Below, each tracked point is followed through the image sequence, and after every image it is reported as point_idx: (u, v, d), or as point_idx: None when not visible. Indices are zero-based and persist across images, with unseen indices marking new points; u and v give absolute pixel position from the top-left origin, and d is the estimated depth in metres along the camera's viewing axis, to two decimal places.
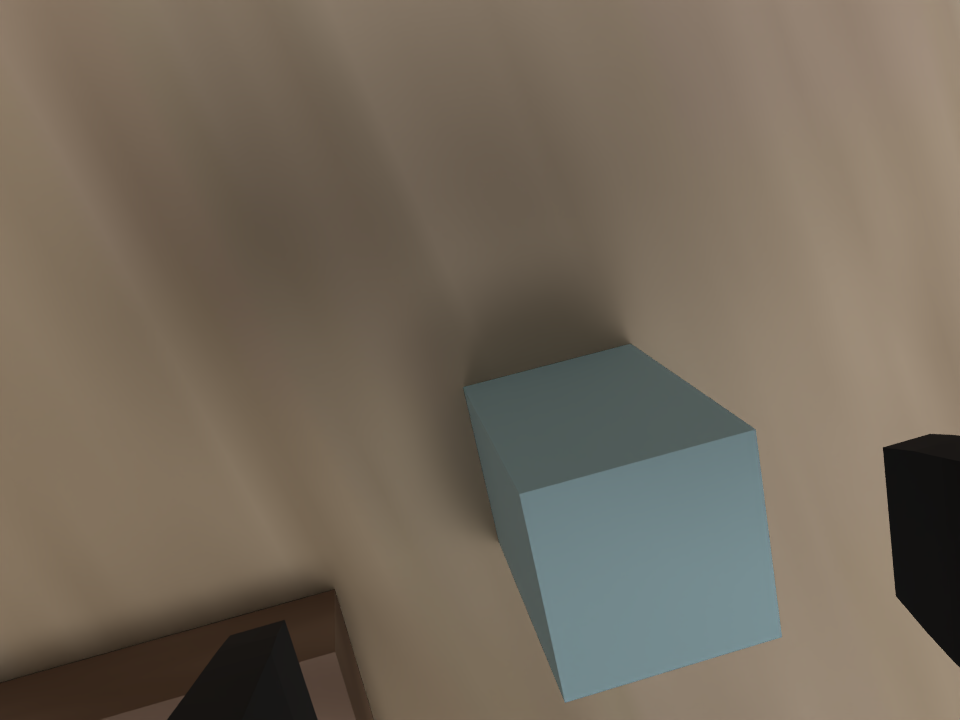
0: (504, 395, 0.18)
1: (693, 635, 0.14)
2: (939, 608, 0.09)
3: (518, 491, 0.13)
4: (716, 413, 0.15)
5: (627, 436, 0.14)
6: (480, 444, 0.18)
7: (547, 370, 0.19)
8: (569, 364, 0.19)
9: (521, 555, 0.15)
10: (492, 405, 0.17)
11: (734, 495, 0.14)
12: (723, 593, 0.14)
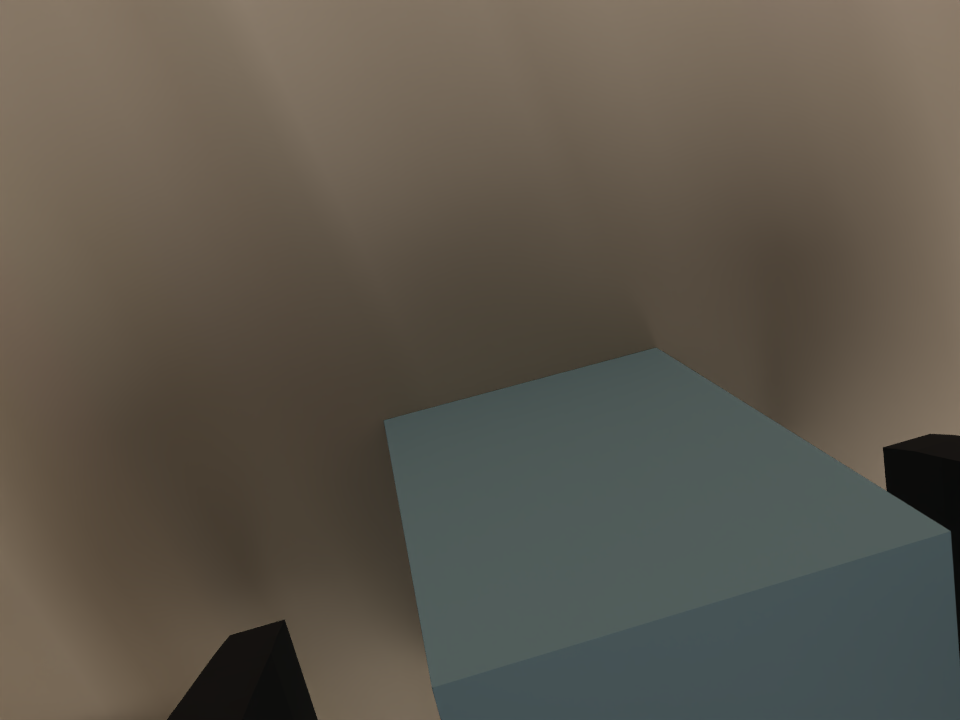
0: (445, 437, 0.10)
1: None
2: None
3: (431, 678, 0.06)
4: (846, 487, 0.07)
5: (666, 535, 0.07)
6: None
7: (521, 393, 0.11)
8: (557, 381, 0.12)
9: None
10: (421, 456, 0.10)
11: (899, 669, 0.07)
12: None
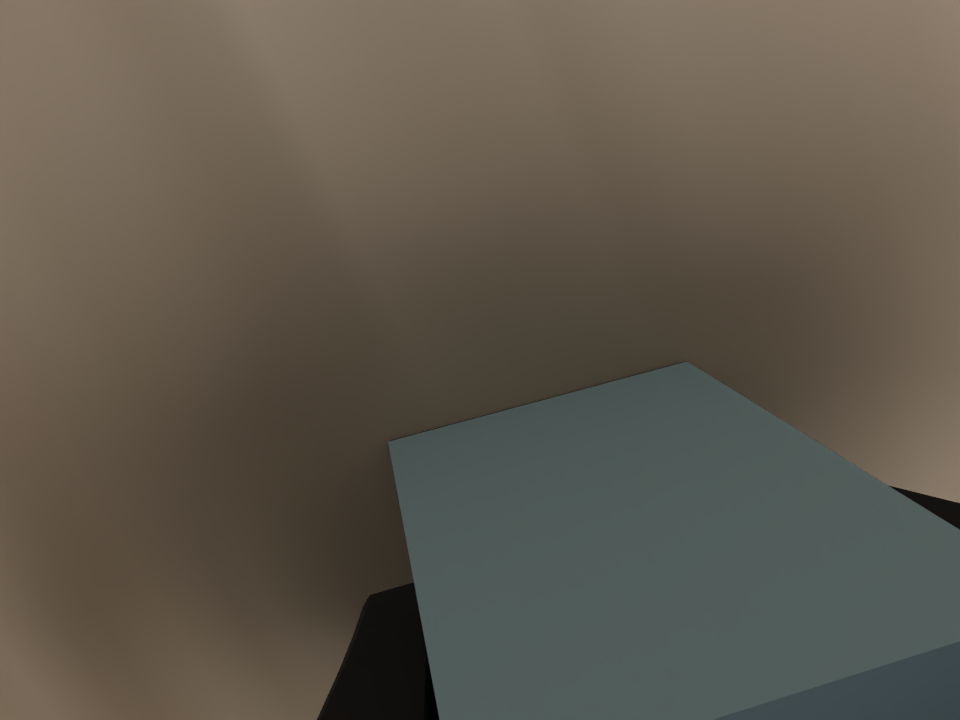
0: (457, 465, 0.09)
1: None
2: None
3: None
4: (936, 539, 0.06)
5: (725, 598, 0.06)
6: None
7: (540, 412, 0.10)
8: (580, 400, 0.10)
9: None
10: (432, 487, 0.09)
11: None
12: None
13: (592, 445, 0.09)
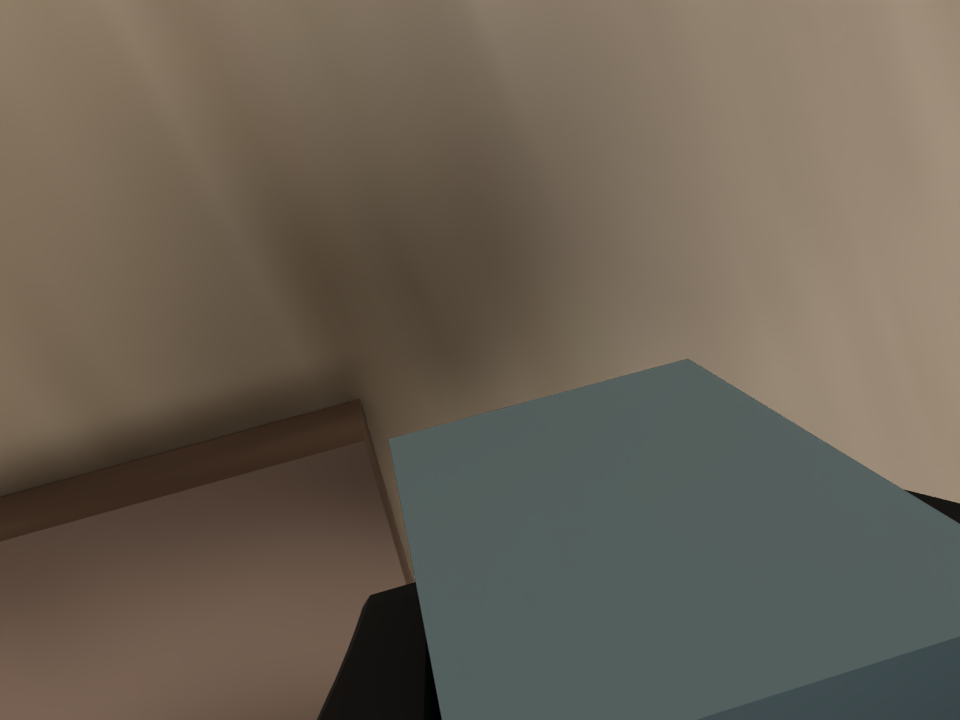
0: (458, 461, 0.09)
1: None
2: None
3: None
4: (938, 535, 0.06)
5: (728, 594, 0.06)
6: None
7: (541, 409, 0.10)
8: (581, 396, 0.10)
9: None
10: (432, 483, 0.09)
11: None
12: None
13: (593, 442, 0.09)
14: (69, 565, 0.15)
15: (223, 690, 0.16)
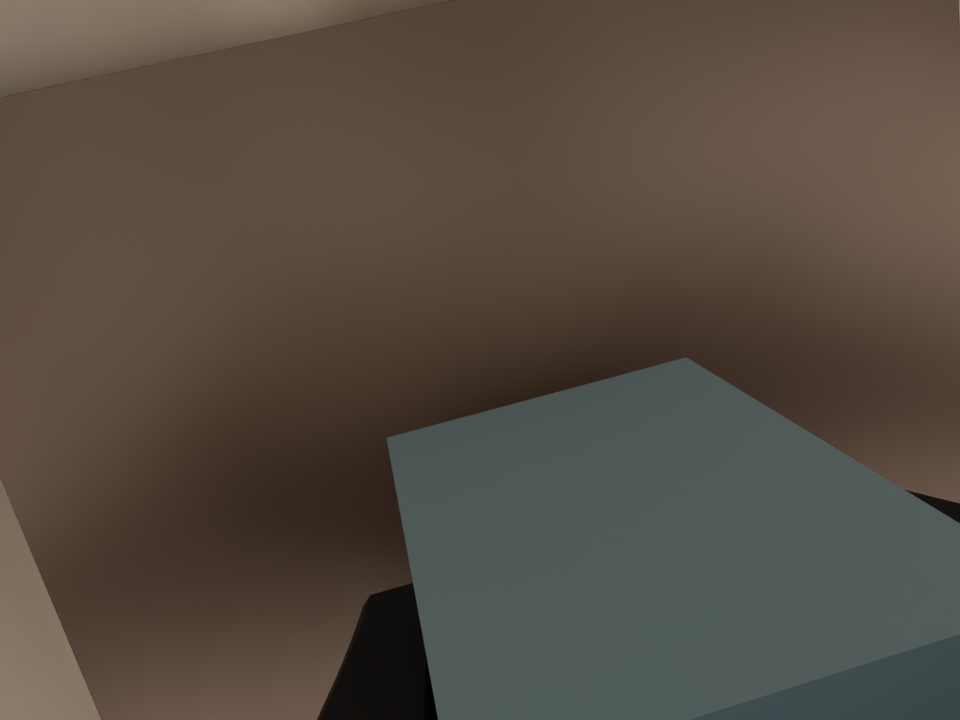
0: (455, 459, 0.09)
1: None
2: None
3: None
4: (936, 533, 0.06)
5: (724, 593, 0.06)
6: None
7: (539, 408, 0.10)
8: (579, 395, 0.10)
9: None
10: (430, 482, 0.09)
11: None
12: None
13: (591, 440, 0.09)
14: (567, 42, 0.11)
15: (724, 260, 0.12)
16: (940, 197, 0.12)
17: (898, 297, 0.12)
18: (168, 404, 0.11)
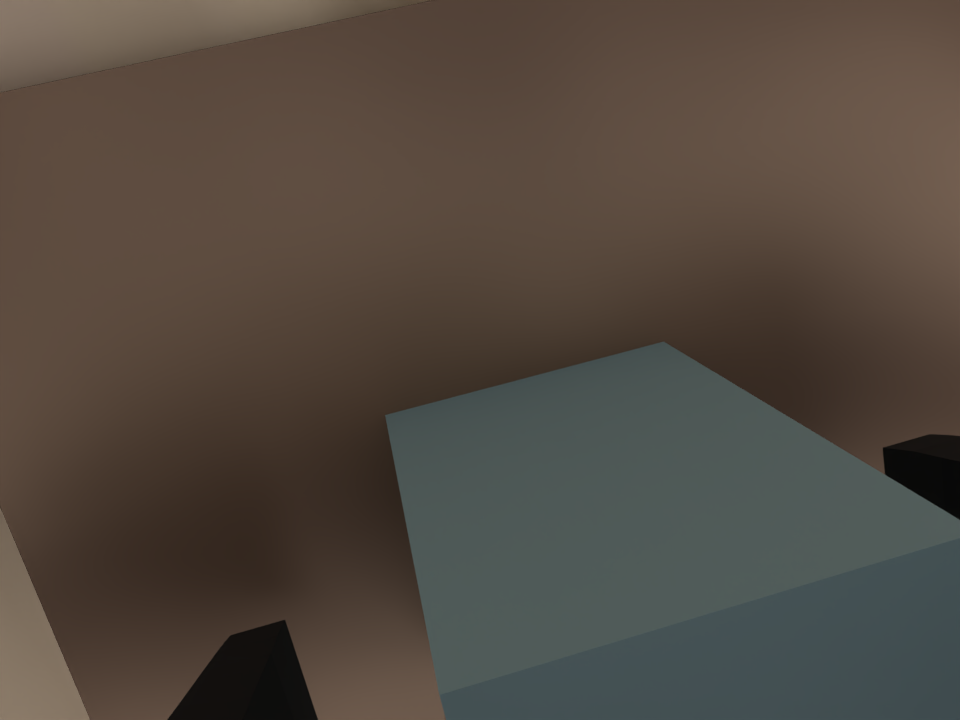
0: (448, 432, 0.10)
1: None
2: None
3: (439, 684, 0.06)
4: (867, 485, 0.07)
5: (681, 536, 0.07)
6: None
7: (525, 388, 0.11)
8: (562, 375, 0.11)
9: None
10: (425, 452, 0.10)
11: (925, 675, 0.06)
12: None
13: (572, 414, 0.10)
14: (571, 38, 0.10)
15: (731, 261, 0.12)
16: (951, 197, 0.12)
17: (908, 299, 0.12)
18: (163, 409, 0.11)
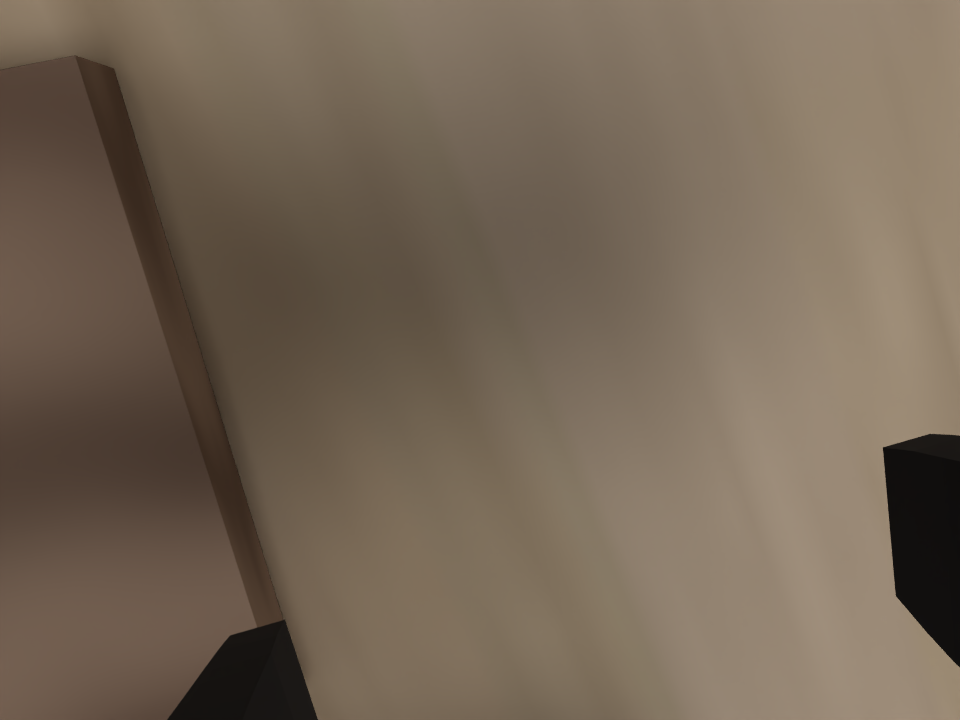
0: None
1: None
2: (940, 608, 0.09)
3: None
4: None
5: None
6: None
7: None
8: None
9: None
10: None
11: None
12: None
13: None
14: None
15: None
16: (124, 299, 0.15)
17: (103, 381, 0.15)
18: None
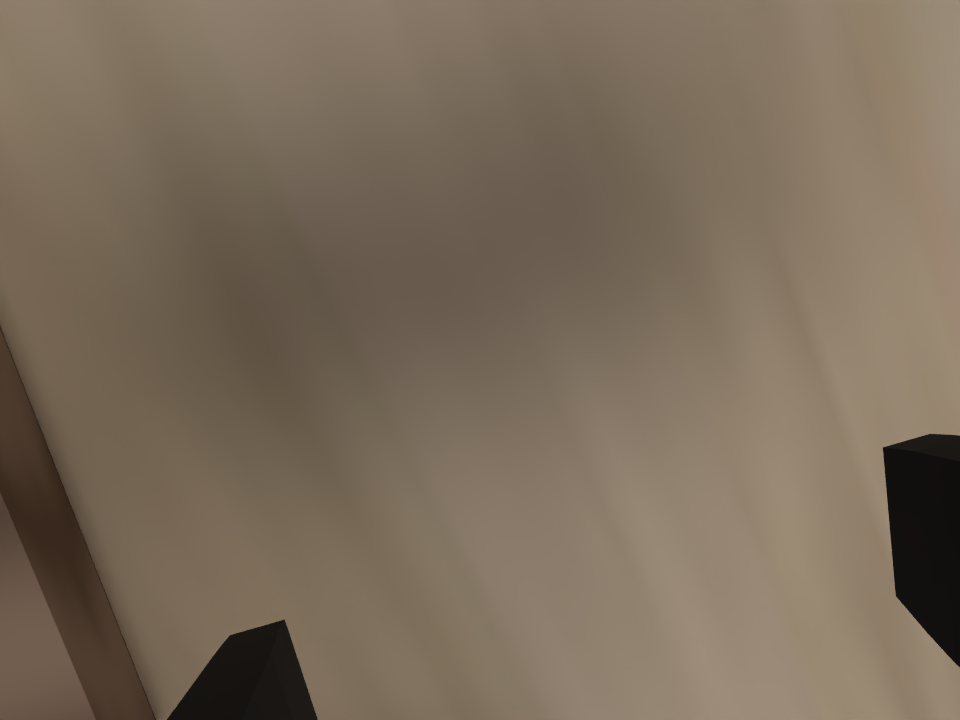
0: None
1: None
2: (940, 608, 0.09)
3: None
4: None
5: None
6: None
7: None
8: None
9: None
10: None
11: None
12: None
13: None
14: None
15: None
16: None
17: None
18: None
